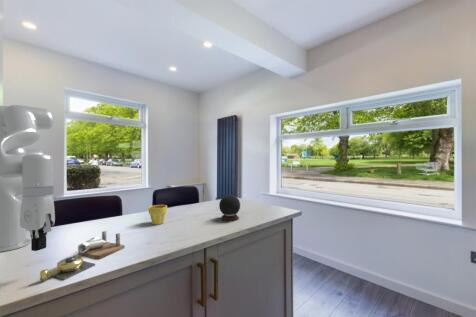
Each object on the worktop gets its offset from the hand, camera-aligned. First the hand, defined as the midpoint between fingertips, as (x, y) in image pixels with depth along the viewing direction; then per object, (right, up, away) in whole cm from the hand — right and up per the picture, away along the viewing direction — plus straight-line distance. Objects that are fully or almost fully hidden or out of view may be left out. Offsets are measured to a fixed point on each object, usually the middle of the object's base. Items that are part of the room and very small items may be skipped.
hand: (39, 249), depth 70 cm
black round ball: (+59, -9, +66) cm, 89 cm away
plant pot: (+17, -9, +58) cm, 61 cm away
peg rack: (+9, -9, +19) cm, 22 cm away
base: (+7, -9, +4) cm, 12 cm away
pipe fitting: (+6, -8, +18) cm, 20 cm away
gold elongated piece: (+6, -8, +1) cm, 10 cm away
